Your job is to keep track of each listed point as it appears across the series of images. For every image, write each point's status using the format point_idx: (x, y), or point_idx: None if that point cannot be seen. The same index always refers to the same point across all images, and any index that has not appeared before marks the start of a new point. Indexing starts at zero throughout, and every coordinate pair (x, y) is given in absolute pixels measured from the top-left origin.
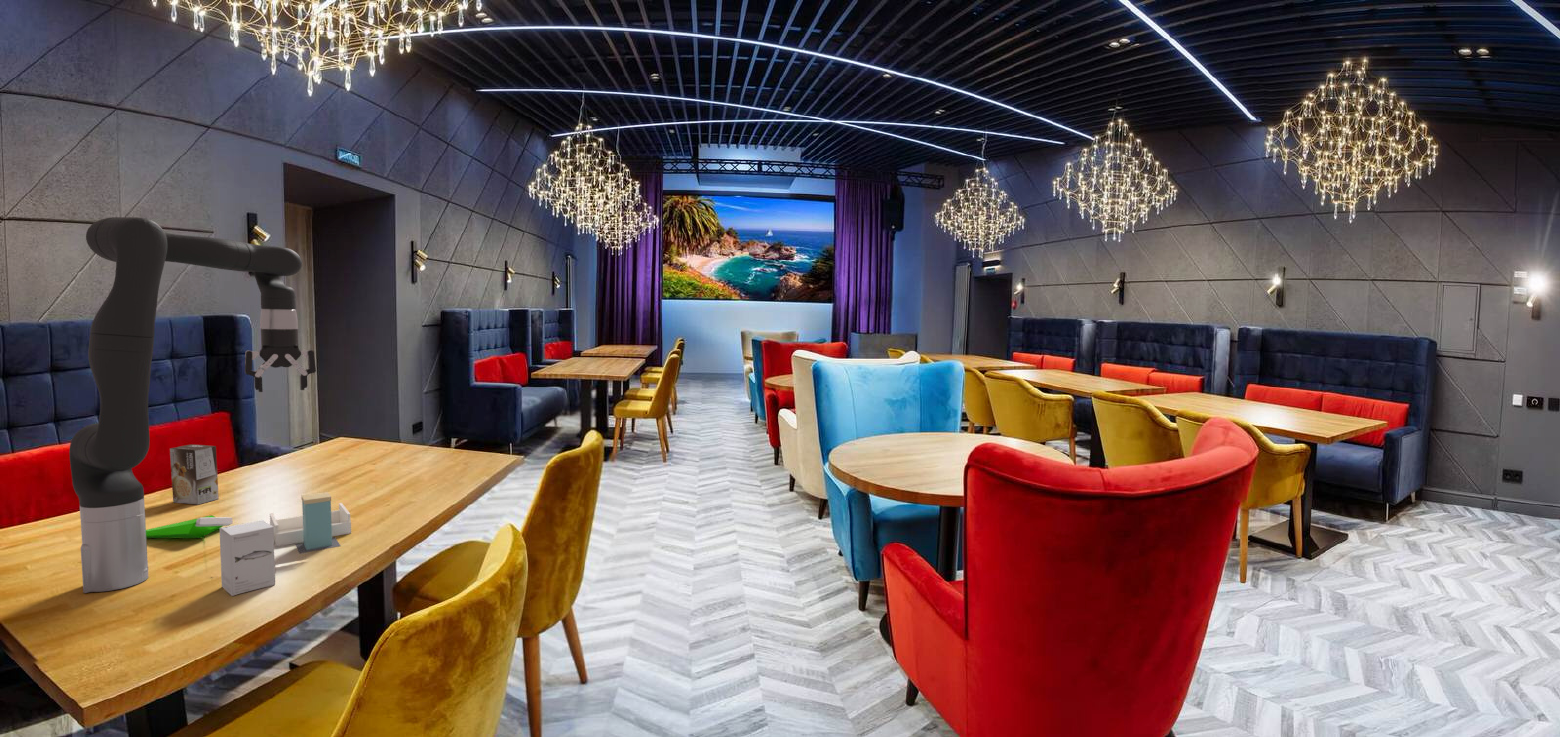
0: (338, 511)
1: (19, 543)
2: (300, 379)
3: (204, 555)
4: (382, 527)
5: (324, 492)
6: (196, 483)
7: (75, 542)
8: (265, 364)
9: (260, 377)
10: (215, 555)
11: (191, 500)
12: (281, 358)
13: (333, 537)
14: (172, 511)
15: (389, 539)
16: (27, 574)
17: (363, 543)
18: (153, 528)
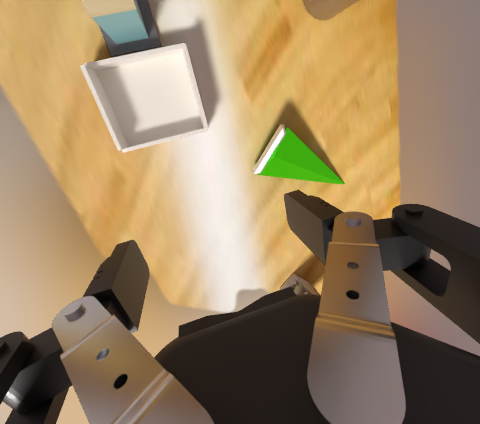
0: (126, 148)
1: (396, 192)
2: (126, 286)
3: (260, 64)
4: (52, 93)
5: (92, 10)
6: (304, 288)
7: (365, 178)
8: (370, 264)
9: (329, 222)
10: (249, 57)
11: (300, 278)
12: (259, 403)
13: (112, 53)
14: (309, 256)
15: (11, 5)
16: (389, 81)
17: (55, 4)
18: (318, 171)
